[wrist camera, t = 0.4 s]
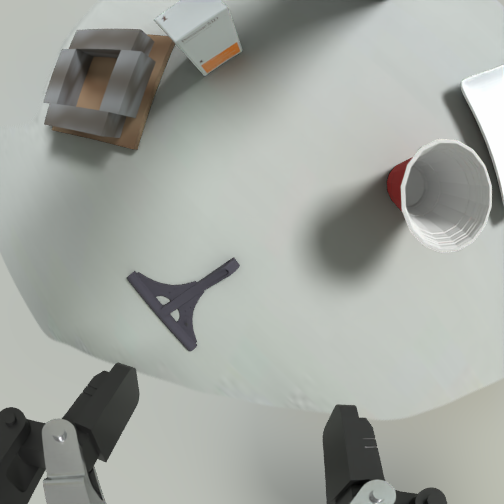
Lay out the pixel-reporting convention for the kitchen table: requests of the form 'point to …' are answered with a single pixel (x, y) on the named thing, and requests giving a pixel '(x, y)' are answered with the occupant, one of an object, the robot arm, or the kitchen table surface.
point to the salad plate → (489, 113)
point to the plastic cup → (443, 194)
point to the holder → (107, 84)
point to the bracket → (179, 299)
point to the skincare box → (202, 32)
